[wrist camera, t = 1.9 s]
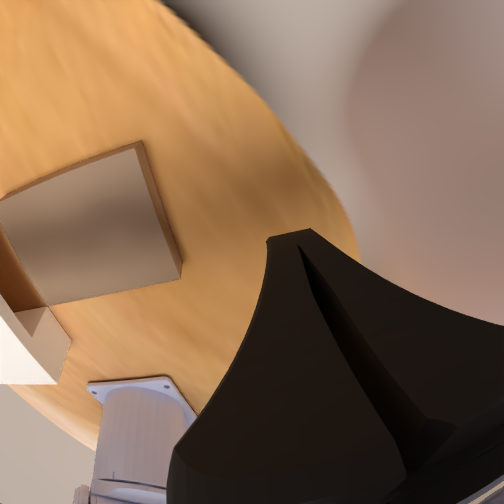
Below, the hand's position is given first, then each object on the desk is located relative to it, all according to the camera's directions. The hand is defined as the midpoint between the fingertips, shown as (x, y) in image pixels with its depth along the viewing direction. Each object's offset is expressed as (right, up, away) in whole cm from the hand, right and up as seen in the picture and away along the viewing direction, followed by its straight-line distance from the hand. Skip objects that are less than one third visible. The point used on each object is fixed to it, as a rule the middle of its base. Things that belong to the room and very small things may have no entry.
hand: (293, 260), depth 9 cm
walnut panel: (-10, +2, +6) cm, 12 cm away
